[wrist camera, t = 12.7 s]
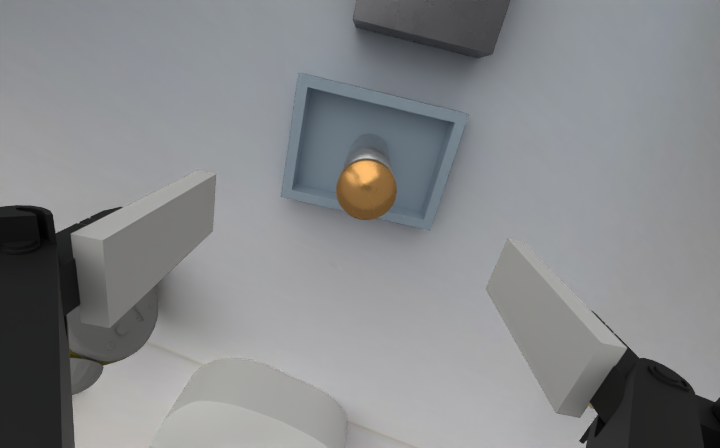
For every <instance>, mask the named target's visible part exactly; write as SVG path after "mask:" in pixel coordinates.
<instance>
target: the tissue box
mask: <svg viewBox="0 0 720 448" xmlns="http://www.w3.org/2000/svg"><path fill="white" fill-rule="evenodd" d="M346 435H347V417H346V414H345V412H344V410H343V409H342V407H341V406H340V405H339V403H338V402H337V401H336V400H335V399H334V398H333V397H331V396H330V395H329V394H327V393H326V392H324V391H323V390H321V389H319V388H317V387H315V386H313V385H310V384H308V383H306V382H304V381H302V380H299V379H297V378H295V377H293V376H291V375H288V374H286V373H284V372H282V371H280V370H277V369H275V368H273V367H271V366H269V365H266V364H264V363H261V362H258V361H254V360H250V359H244V358H221V359H217V360H214V361H212V362H209V363H207V364H205V365H204V366H202V367H201V368H199V369H198V370H197V371H196V372H195V373H194V374H193V376H192V377H191V379H190V380H189V382H188V383H187V385H186V387H185V388H184V390H183V391H182V393H181V394H180V396H179V398H178V399H177V401H176V402H175V404H174V406H173V407H172V409H171V410H170V412H169V413H168V415H167V417H166V418H165V420H164V421H163V423H162V425H161V427H160V428H159V430H158V432H157V435H156V437H155V439H154V441H153V442H152V444H151V446H150V448H346Z"/></svg>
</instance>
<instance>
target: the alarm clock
mask: <svg viewBox="0 0 720 448" xmlns="http://www.w3.org/2000/svg"><path fill="white" fill-rule="evenodd" d="M157 315H158V300H157V295H156V291H155V289H154V287H153V288H152V289H151V290H150V291H149V292H148V293H147V294H145V295H144V296H143V297H142V298H141V299H140V300H139V301H138V302H137V303H136V304H135V305H134V306H133V307H132V308H131V309H129V310H128V311H127V312H126V313H125V314H124V315H123V316H122V317H121V318H120V319H119V320H118V321H117V322H116V323H115V324H114V325H112V326H111V327H110V328H106V327H101V326H95V325H90V324H85V323H81V317H80V309H79V306H78V307H76V308H75V309H74V310H72V311H71V312H70V313H68V314H67V321H68V333H69V352H70V370H71V388H72V395H74V394H77V393H80V392H81V391H83V390H85V389H87V388H89V387H90V386H91V385H93V384H94V383H95V382H96V381H97V380H98V379H99V377H100V375H101V374H102V371H103V368H104V367H103V365H107V364H110V363H114V362H117V361H120V360H123V359H125V358H127V357H129V356H130V355H132V354H134V353H135V352H137V351H138V350H139V349H140V348H141V347H142V346H143V345H144V344H145V343H146V341H147V340H148V339H149V337H150V335H151V333H152V331H153V330H154V327H155V324H156V321H157Z"/></svg>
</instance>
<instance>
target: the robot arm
mask: <svg viewBox="0 0 720 448" xmlns="http://www.w3.org/2000/svg"><path fill="white" fill-rule="evenodd" d="M215 185H216V174H215V173H210V172H206V171H201V170H197V171H195V172H193V173H191V174H189V175H187V176H185V177H183V178H181V179H179V180H177V181H175V182H173V183H171V184H169V185H167V186H165V187H163V188H161V189H159V190H157V191H155V192H153V193H151V194H149V195H147V196H145V197H143V198H141V199H139V200H137V201H135V202H133V203H131V204H129V205H127V206H125V207H118V208H113V209H109V210H105V211H102V212H100V213H98V214H95V215H93V216H91V217H90V219H89V218H87V219H85V220H83V221H81V222H80V223H79V224H74V225H72V226H70V227H68V228H66V229H64V230H62V231H60V232H58V233H56V234H55V227H54V220H53V214H52V213H51V211H50V210H47V209H45V208H42V207H36V206H22V205H15V206H4V207H0V448H75V443H74V425H73V407H72V388H71V370H70V352H69V333H68V321H67V314H68V313H70V312H71V311H72V310H74V309H75V308H76V307H78V306H79V309H80V317H81V323H85V324H90V325H95V326H101V327H106V328H110V327H111V326H112V325H114V324H115V323H116V322H117V321H118V320H119V319H120V318H121V317H122V316H123V315H124V314H125V313H126V312H127V311H128V310H129V309H131V308H132V307H133V306H134V305H135V304H136V303H137V302H138V301H139V300H140V299H141V298H142V297H143V296H144V295H145V294H147V293H148V292H149V291H150V290H151V289H152V288H153V287H154V286H155V285H156V284H157V283H158V282H159V281H160V280H161V279H162V278H164V277H165V276H166V275H167V274H168V273H169V272H170V271H171V270H172V269H173V268H174V267H175V266H176V265H177V264H178V263H180V262H181V261H182V260H183V259H184V258H185V257H186V256H187V255H188V254H189V253H190V252H191V251H192V250H193V249H194V248H195V247H197V246H198V245H199V244H200V243H201V242H202V241H203V240H204V239H205V238H206V237H207V236H208V235H209V234H210V233H211V232H213V218H214V202H215ZM486 290H487V292H488V294H489V296H490V297H491V299H492V301H493V303H494V305H495V306H496V308H497V310H498V312H499V313H500V315H501V317H502V319H503V320H504V322H505V324H506V326H507V328H508V329H509V331H510V333H511V335H512V336H513V338H514V340H515V342H516V343H517V345H518V347H519V349H520V351H521V352H522V354H523V356H524V358H525V359H526V361H527V363H528V365H529V366H530V368H531V370H532V372H533V373H534V375H535V377H536V379H537V381H538V382H539V384H540V386H541V388H542V389H543V391H544V393H545V395H546V396H547V398H548V400H549V402H550V404H551V405H552V407H553V409H554V411H555V412H556V413H558V414H563V415H568V416H574V417H579V418H580V417H581V415H582V414H583V412H584V411H585V409H586V408H587V407H588V405H589V404H590V403H591V405H592V406H593V408H594V409H595V411H596V412H597V413H598V415H597V417H596V418H595V419H594V421H593V422H592V424H591V425H590V426H589V428H588V429H587V431H586V432H585V433H584V435H583V436H582V438H581V439H580V440H579V441H580V442H581V443H583V444H584V442H585V441H586V440H587V444H586V448H720V398H719V399H718V400H717V401H716V402H713V401H710V400H708V399H705V398H703V397H700V396H698V395H695V392H694V390H693V388H692V387H691V386H690V384H689V383H688V382H687V381H686V380H685V379H683V378H682V377H681V376H680V375H678V374H677V373H676V372H674V371H673V370H671V369H669V368H668V367H666V366H664V365H662V364H660V363H658V362H655V361H653V360H649V359H646V358H639V357H638V356H637V355H636V354H635V353H634V352H633V351H632V350H631V349H630V348H629V347H628V346H627V345H626V344H625V343H624V342H623V341H622V340H621V339H620V338H619V337H618V336H617V335H616V334H613V331H612V330H611V329H610V328H609V327H608V326H607V325H605V323H604V322H603V321H602V320H601V319H600V318H599V317H598V316H597V315H596V314H595V313H594V312H593V311H591V310H590V309H589V308H588V307H587V306H586V305H585V304H584V303H583V302H582V301H581V300H580V299H579V298H578V297H577V296H576V295H575V294H574V293H573V292H572V291H571V290H570V289H569V288H568V287H567V286H566V285H565V284H564V283H563V282H562V281H561V280H560V279H559V278H558V277H557V275H556V274H555V273H554V272H553V271H552V270H551V269H550V268H549V267H548V266H547V265H546V264H545V263H544V262H543V261H542V260H541V259H540V258H539V257H538V256H537V255H536V254H535V253H534V252H533V251H532V250H531V249H530V248H529V247H528V246H527V245H526V244H525V243H524V242H522V241H517V240H513V239H507V241H506V244H505V246H504V248H503V250H502V253H501V255H500V257H499V260H498V262H497V264H496V266H495V269H494V271H493V273H492V276H491V278H490V280H489V282H488V285H487V287H486Z"/></svg>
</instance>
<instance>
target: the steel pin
mask: <svg viewBox="0 0 720 448" xmlns="http://www.w3.org/2000/svg"><path fill="white" fill-rule="evenodd" d="M336 195H337V199H338V202H339V204H340V206H341V207H342V208H343V210H344V211H345V212H347V213H348V214H349V215H351V216H353V217H355V218H358V219H363V220H371V219H375V218H378V217H380V216H382V215H384V214H385V213H386V212H388V211H389V210H390V208H391V207H392V206H393V204H394V202H395V199H396V195H397V187H396V182H395V177H394V173H393V169H392V164H391V160H390V155H389V151H388V147H387V145H386V143H385V141H384V140H383V139H382V138H380V137H379V136H377V135H374V134H365V135H362V136H360V137H358V138H357V139H356V140H355V141H354V143H353V144H352V146H351V149H350V151H349V154H348V156H347V159H346V161H345V164H344V166H343V169H342V171H341V174H340V176H339V179H338V182H337V186H336Z"/></svg>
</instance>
